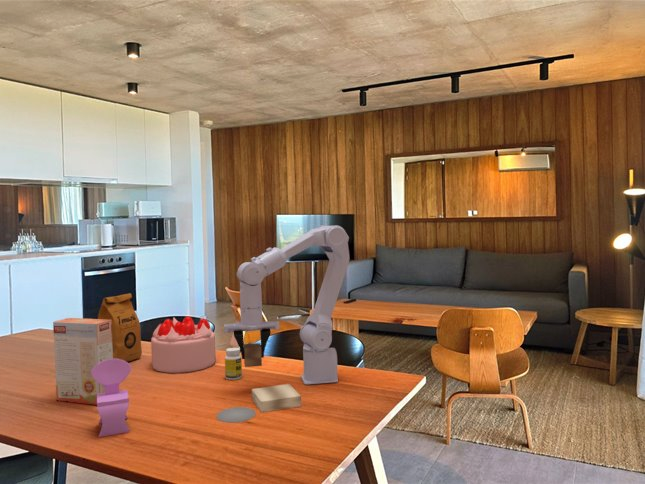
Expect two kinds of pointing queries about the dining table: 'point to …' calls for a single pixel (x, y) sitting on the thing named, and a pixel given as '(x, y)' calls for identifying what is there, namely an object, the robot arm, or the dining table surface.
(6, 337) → the dining table surface
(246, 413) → the felt coaster
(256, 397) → the maple block
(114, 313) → the coffee package
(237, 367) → the supplement bottle
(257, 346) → the walnut block
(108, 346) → the cracker box
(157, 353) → the cake
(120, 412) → the toy chair
